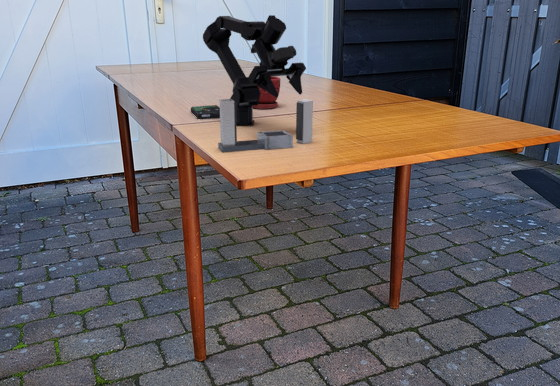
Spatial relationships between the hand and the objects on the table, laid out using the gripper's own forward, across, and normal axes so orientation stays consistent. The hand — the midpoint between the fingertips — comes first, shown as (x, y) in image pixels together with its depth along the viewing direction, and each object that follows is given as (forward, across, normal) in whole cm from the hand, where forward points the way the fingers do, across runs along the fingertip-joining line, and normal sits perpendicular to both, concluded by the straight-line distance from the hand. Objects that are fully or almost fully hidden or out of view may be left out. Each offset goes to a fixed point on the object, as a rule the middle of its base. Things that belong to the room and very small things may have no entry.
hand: (289, 95), depth 162 cm
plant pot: (-24, +24, +42) cm, 54 cm away
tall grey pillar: (+14, 0, +4) cm, 15 cm away
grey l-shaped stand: (+12, -15, +7) cm, 20 cm away
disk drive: (-23, -2, +42) cm, 48 cm away
